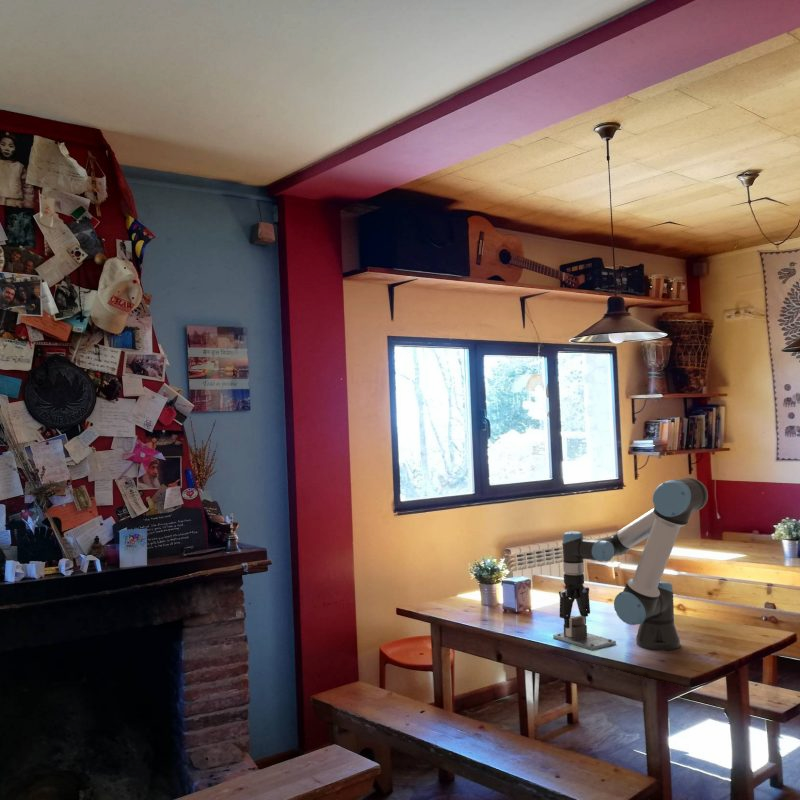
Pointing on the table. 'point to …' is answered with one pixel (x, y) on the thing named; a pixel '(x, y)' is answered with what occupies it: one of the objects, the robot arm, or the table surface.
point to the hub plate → (586, 641)
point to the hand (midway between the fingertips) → (575, 634)
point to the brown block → (577, 627)
